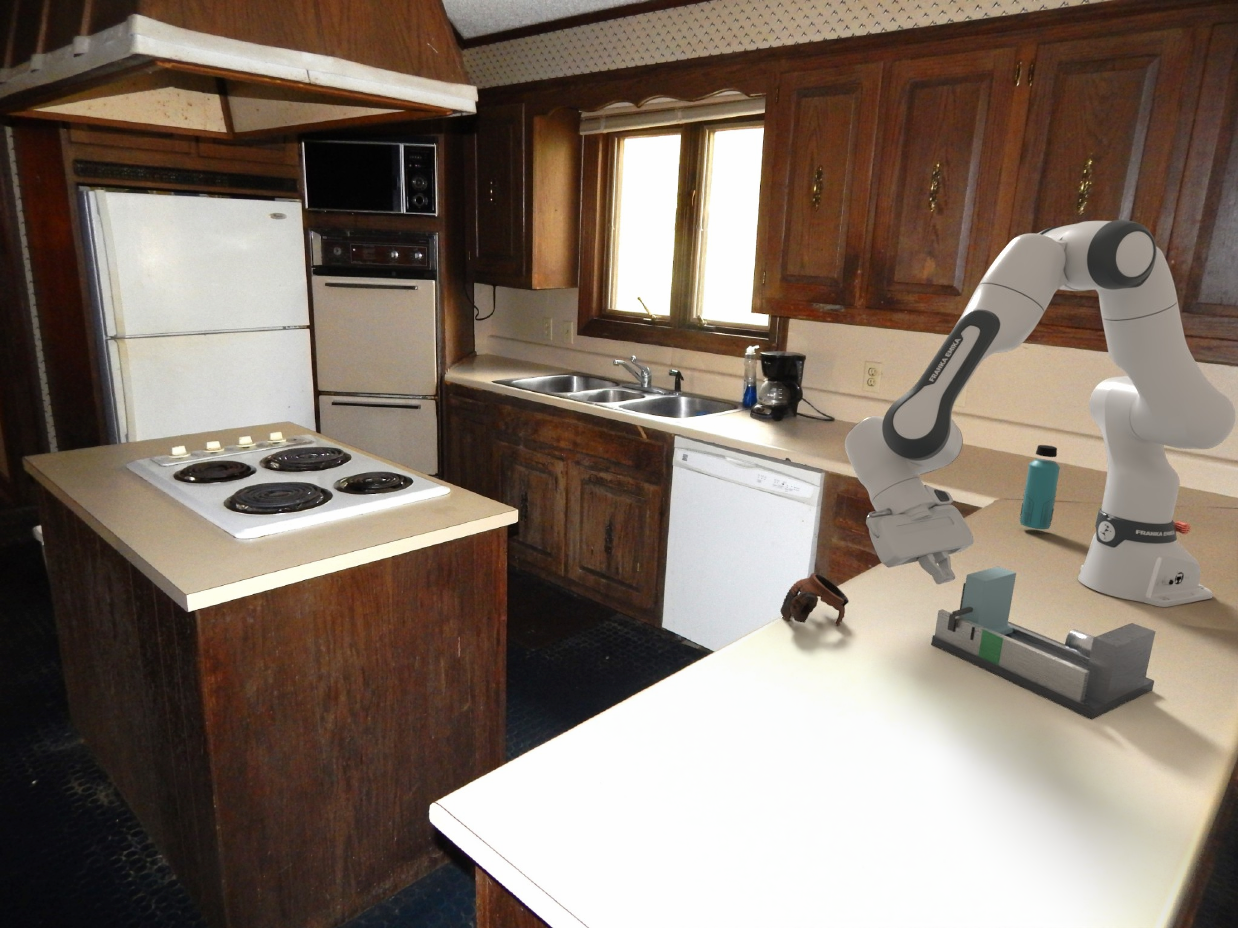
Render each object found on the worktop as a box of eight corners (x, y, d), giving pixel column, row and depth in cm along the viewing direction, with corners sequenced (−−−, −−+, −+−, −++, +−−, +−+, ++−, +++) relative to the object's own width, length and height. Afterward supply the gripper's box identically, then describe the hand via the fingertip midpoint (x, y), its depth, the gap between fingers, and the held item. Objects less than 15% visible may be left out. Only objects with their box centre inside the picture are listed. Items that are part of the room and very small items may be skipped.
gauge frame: (931, 644, 122) (939, 586, 120) (993, 624, 131) (1002, 569, 129) (1091, 719, 103) (1105, 651, 101) (1152, 690, 111) (1166, 626, 109)
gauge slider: (932, 635, 121) (941, 577, 119) (983, 619, 128) (992, 564, 126) (962, 649, 117) (971, 588, 115) (1012, 632, 124) (1022, 574, 122)
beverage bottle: (1053, 537, 180) (1069, 450, 175) (1021, 534, 181) (1036, 447, 176) (1044, 528, 186) (1059, 444, 181) (1013, 525, 187) (1027, 441, 183)
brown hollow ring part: (785, 604, 137) (814, 566, 135) (829, 642, 132) (860, 603, 131) (762, 609, 126) (794, 568, 124) (809, 650, 122) (843, 609, 120)
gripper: (875, 503, 126) (918, 583, 120) (955, 491, 137) (999, 563, 131) (849, 522, 131) (890, 600, 125) (929, 509, 142) (970, 580, 136)
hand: (946, 581), depth 128 cm, fingers closed
